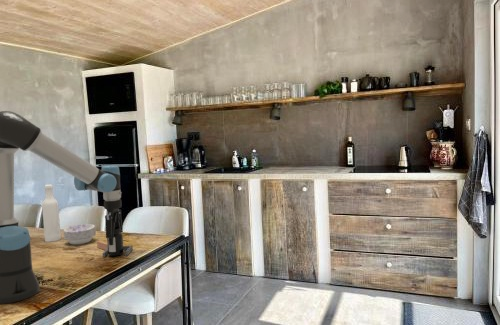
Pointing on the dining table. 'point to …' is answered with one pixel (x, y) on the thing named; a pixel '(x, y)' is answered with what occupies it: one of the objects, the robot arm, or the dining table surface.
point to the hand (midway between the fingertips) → (115, 249)
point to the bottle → (51, 216)
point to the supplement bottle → (117, 243)
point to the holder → (104, 245)
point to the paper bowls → (79, 233)
